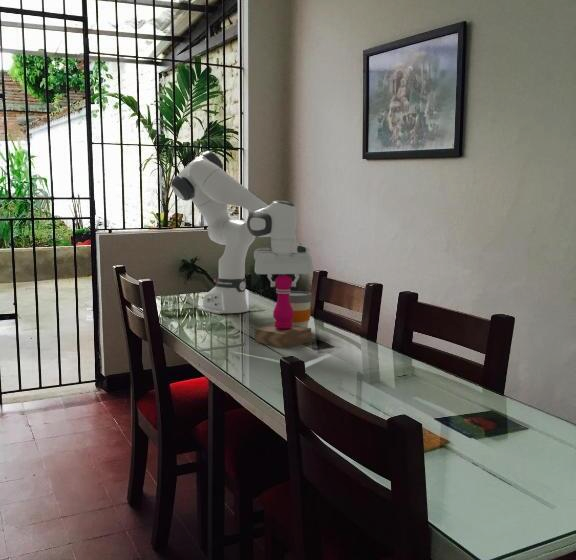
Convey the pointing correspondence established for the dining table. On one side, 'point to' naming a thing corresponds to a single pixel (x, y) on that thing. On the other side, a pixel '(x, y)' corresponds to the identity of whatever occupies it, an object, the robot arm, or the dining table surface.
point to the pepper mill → (283, 303)
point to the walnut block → (283, 335)
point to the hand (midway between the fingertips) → (283, 286)
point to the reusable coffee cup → (300, 307)
